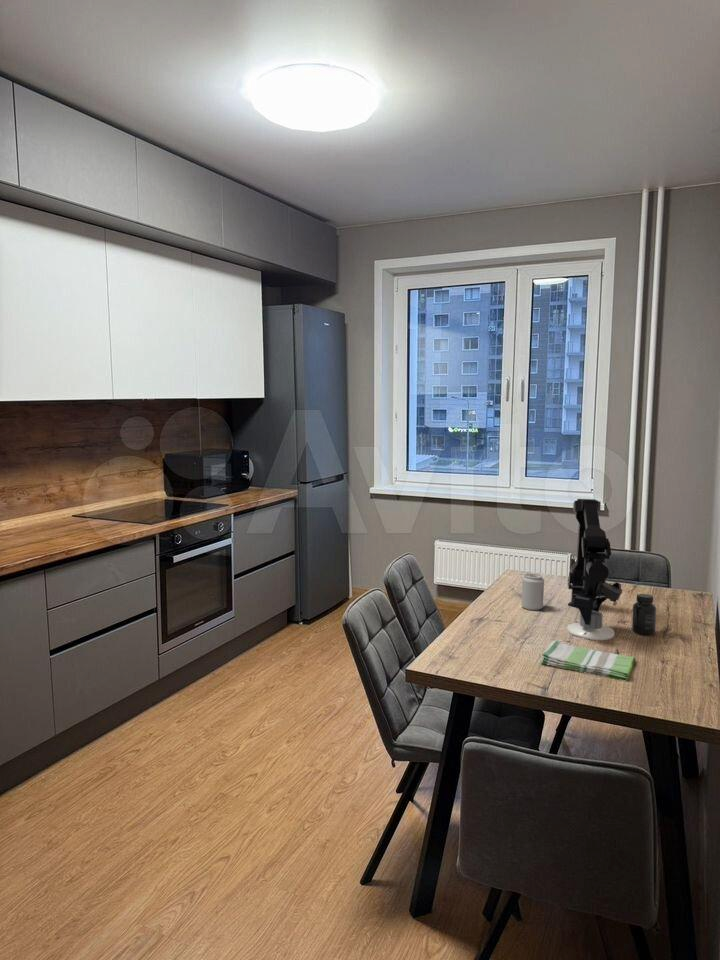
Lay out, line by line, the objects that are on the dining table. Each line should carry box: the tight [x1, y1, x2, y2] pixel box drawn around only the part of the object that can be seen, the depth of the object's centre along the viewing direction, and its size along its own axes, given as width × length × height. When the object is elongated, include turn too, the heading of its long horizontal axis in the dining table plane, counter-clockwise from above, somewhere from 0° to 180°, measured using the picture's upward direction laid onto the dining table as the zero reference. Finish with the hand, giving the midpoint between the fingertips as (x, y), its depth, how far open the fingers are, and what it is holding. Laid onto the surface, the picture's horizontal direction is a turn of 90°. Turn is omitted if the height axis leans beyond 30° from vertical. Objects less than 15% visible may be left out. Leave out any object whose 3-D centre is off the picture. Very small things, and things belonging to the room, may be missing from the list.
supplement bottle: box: [631, 593, 657, 636], centre depth 206 cm, size 7×7×12 cm
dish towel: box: [540, 639, 636, 682], centre depth 182 cm, size 17×23×4 cm
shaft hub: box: [567, 621, 615, 641], centre depth 206 cm, size 14×14×4 cm
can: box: [521, 572, 545, 611], centre depth 231 cm, size 8×8×12 cm
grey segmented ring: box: [579, 610, 603, 629], centre depth 206 cm, size 6×6×4 cm
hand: (591, 621), depth 206 cm, fingers closed on grey segmented ring, 6 cm apart
